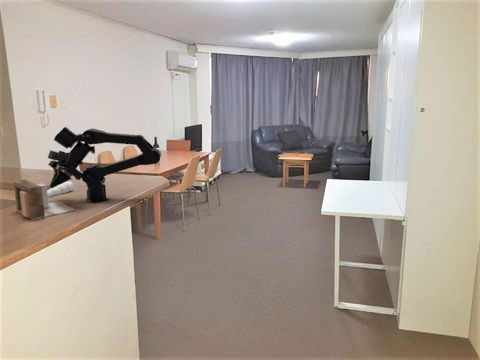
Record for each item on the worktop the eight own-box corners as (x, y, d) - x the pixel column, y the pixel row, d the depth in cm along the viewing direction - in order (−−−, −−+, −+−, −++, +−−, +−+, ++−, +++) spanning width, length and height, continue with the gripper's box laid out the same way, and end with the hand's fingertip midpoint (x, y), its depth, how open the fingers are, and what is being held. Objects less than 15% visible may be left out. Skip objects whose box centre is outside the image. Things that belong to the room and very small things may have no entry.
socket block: (58, 202, 153) (55, 175, 151) (75, 210, 143) (72, 181, 141) (16, 210, 142) (13, 181, 140) (32, 220, 133) (29, 188, 130)
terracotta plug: (40, 211, 140) (37, 188, 138) (44, 213, 137) (42, 190, 135) (22, 214, 135) (19, 191, 134) (26, 217, 133) (23, 193, 131)
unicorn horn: (16, 202, 154) (14, 191, 153) (68, 190, 174) (67, 180, 173) (23, 204, 151) (22, 192, 150) (75, 192, 172) (74, 181, 171)
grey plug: (44, 205, 147) (42, 183, 145) (48, 207, 145) (46, 185, 143) (27, 208, 143) (25, 186, 141) (31, 210, 140) (29, 188, 138)
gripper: (51, 140, 153) (24, 171, 147) (71, 144, 140) (42, 179, 135) (72, 157, 160) (47, 187, 155) (93, 163, 148) (67, 196, 142)
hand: (50, 187), depth 146 cm, fingers closed
